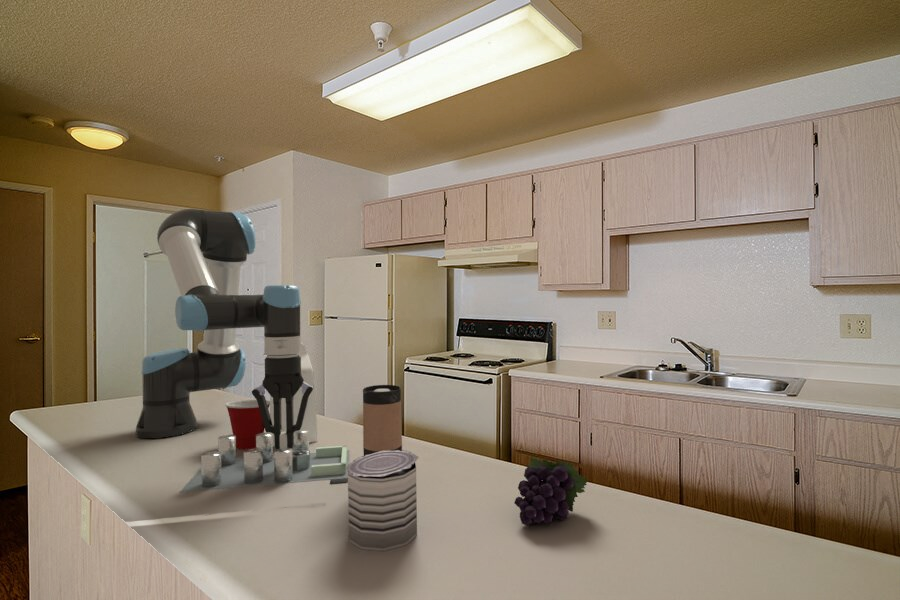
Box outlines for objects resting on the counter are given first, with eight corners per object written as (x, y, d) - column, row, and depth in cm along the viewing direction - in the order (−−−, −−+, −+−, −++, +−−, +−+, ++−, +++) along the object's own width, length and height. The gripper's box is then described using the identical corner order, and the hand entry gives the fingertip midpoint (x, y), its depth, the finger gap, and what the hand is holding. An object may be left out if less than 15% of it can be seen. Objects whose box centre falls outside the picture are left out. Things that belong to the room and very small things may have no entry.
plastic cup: (281, 444, 124) (280, 398, 124) (247, 457, 114) (246, 407, 114) (251, 439, 128) (250, 395, 128) (216, 452, 119) (215, 404, 118)
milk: (314, 432, 135) (313, 340, 134) (317, 444, 124) (316, 344, 123) (269, 437, 130) (267, 342, 130) (268, 450, 120) (266, 346, 119)
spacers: (222, 459, 110) (222, 434, 110) (310, 453, 114) (309, 428, 114) (197, 490, 93) (197, 459, 93) (301, 481, 97) (301, 452, 97)
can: (408, 554, 70) (406, 474, 70) (335, 548, 72) (334, 470, 72) (425, 519, 82) (424, 449, 82) (362, 514, 84) (361, 446, 84)
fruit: (511, 541, 80) (548, 490, 91) (569, 552, 73) (601, 495, 85) (494, 486, 79) (533, 441, 90) (550, 492, 72) (585, 442, 84)
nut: (289, 463, 107) (289, 450, 107) (310, 461, 108) (310, 448, 108) (286, 472, 102) (286, 457, 102) (308, 470, 103) (307, 456, 103)
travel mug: (408, 483, 97) (407, 385, 97) (392, 498, 90) (390, 393, 90) (375, 479, 100) (374, 383, 100) (356, 493, 93) (355, 390, 92)
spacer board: (207, 464, 110) (207, 460, 110) (349, 453, 116) (349, 450, 116) (179, 496, 92) (179, 492, 92) (347, 481, 98) (347, 477, 98)
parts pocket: (316, 456, 112) (316, 447, 112) (346, 453, 114) (346, 445, 114) (311, 476, 99) (311, 466, 99) (345, 473, 101) (345, 464, 101)
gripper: (247, 358, 99) (249, 471, 100) (311, 356, 102) (313, 466, 102) (255, 354, 107) (256, 459, 107) (315, 352, 109) (316, 455, 109)
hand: (284, 462), depth 104 cm, fingers closed
